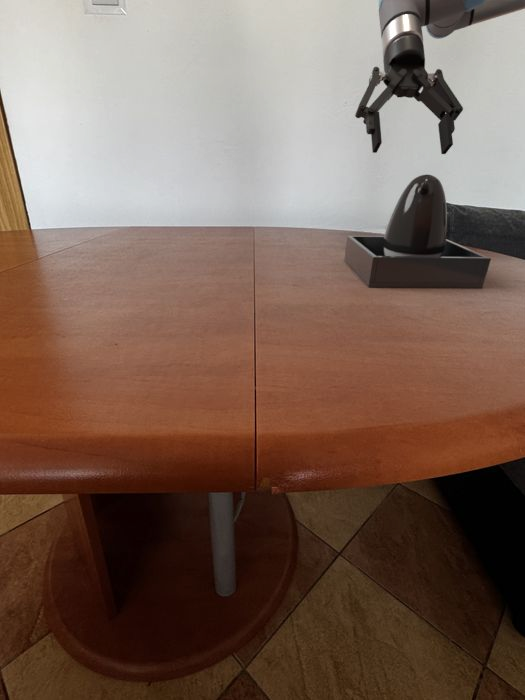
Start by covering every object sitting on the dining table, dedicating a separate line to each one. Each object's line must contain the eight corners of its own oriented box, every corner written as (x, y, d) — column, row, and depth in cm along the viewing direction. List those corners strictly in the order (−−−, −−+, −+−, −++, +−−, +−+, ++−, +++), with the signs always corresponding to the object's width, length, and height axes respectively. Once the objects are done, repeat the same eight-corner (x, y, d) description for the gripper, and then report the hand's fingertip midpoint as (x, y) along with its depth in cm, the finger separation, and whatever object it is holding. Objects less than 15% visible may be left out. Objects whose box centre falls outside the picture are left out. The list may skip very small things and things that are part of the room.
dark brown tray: (436, 261, 75) (441, 236, 73) (482, 288, 61) (491, 258, 58) (344, 260, 74) (347, 235, 72) (368, 287, 60) (373, 257, 57)
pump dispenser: (375, 271, 65) (391, 174, 58) (382, 257, 73) (396, 172, 66) (439, 279, 62) (464, 177, 55) (438, 264, 70) (460, 174, 63)
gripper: (453, 71, 79) (464, 162, 75) (336, 67, 77) (342, 160, 74) (475, 36, 72) (488, 135, 68) (346, 30, 70) (353, 132, 67)
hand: (412, 148), depth 71 cm, fingers open, 13 cm apart
